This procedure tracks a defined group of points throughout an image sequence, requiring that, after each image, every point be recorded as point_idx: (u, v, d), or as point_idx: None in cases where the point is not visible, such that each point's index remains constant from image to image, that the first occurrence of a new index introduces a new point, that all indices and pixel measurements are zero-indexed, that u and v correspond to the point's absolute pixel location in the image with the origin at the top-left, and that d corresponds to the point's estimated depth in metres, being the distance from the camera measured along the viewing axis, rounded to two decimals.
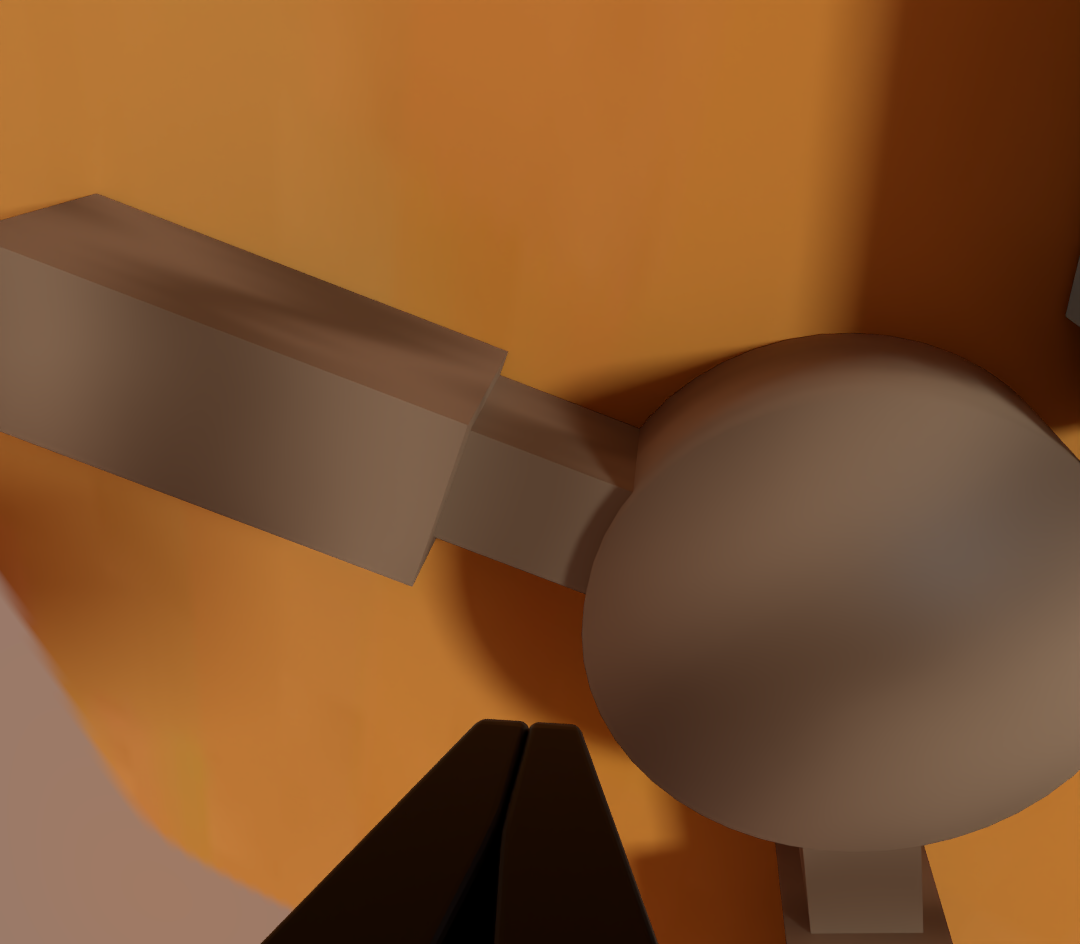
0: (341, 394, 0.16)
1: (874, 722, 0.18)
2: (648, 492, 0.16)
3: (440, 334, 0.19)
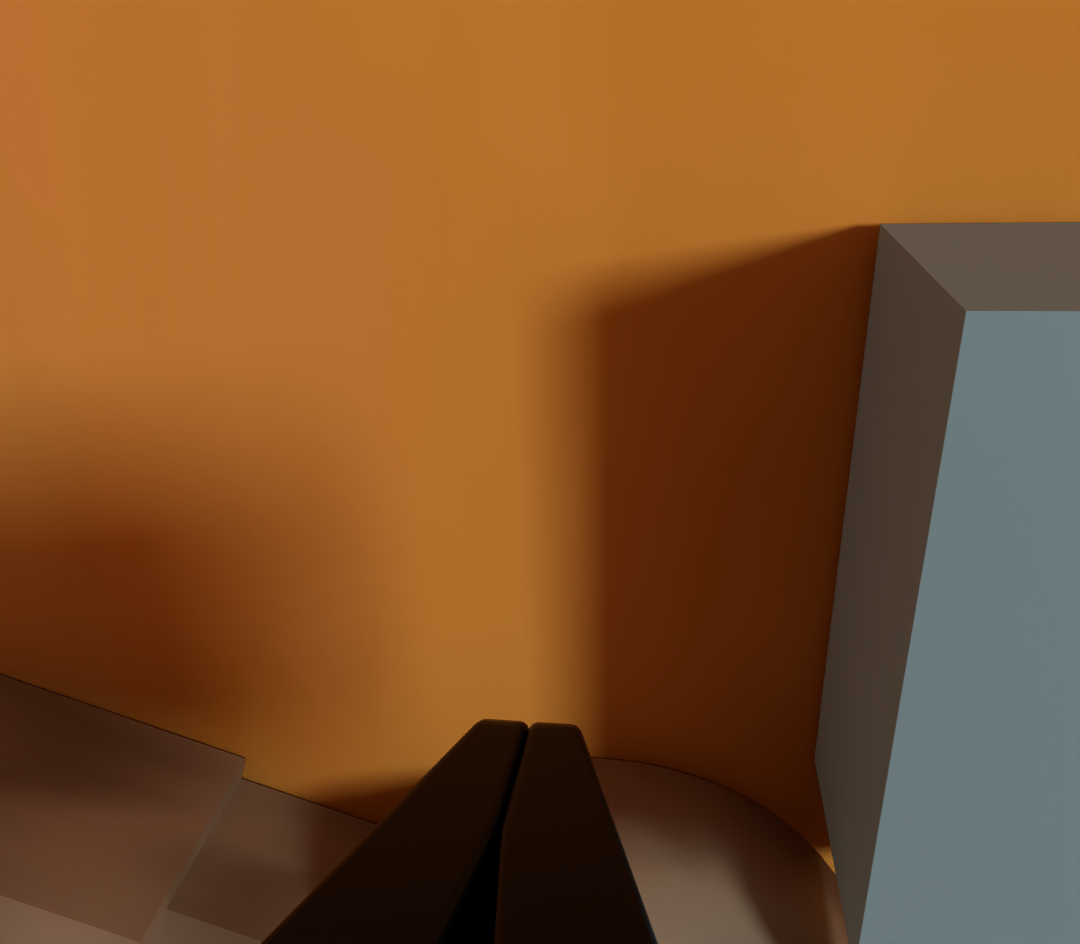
0: (2, 908, 0.14)
1: None
2: None
3: (165, 753, 0.17)
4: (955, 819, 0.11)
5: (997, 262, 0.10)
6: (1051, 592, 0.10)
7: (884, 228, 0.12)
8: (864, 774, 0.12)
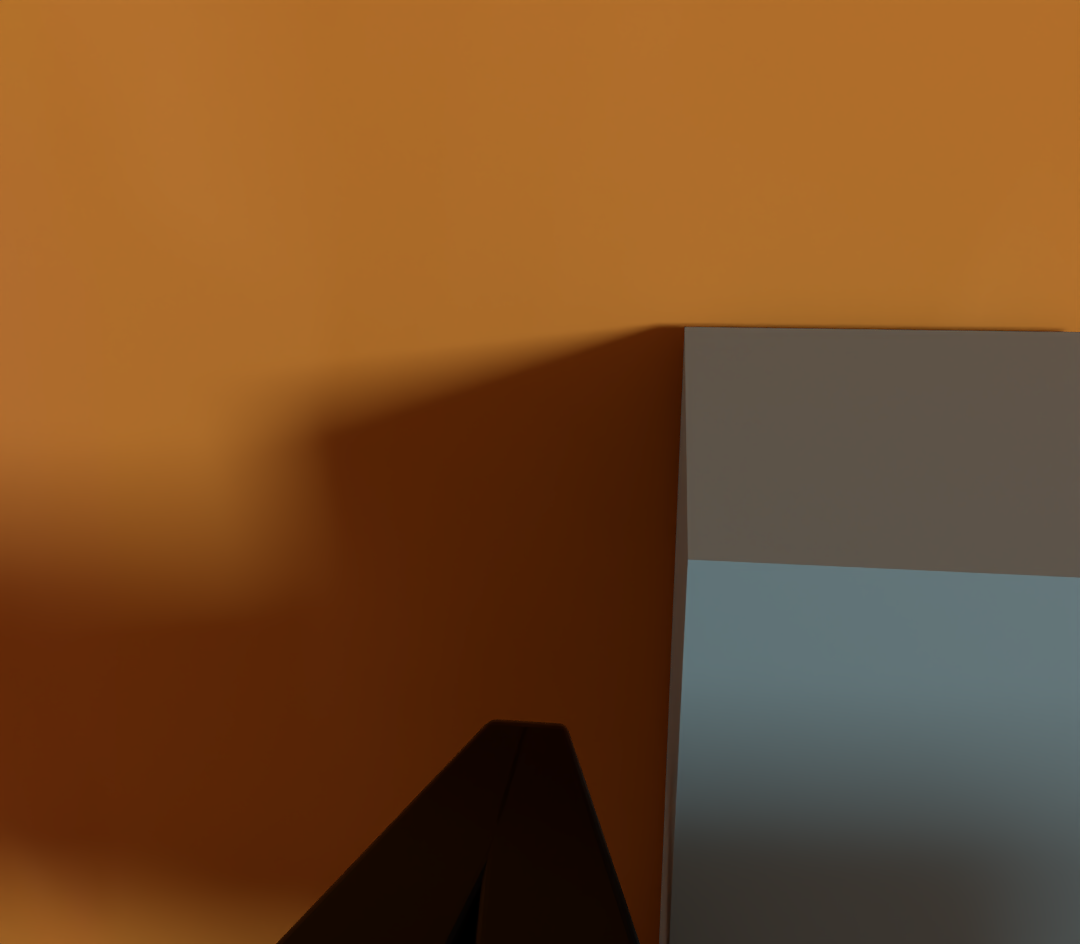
0: None
1: None
2: None
3: None
4: None
5: (807, 421, 0.06)
6: None
7: (685, 336, 0.08)
8: None
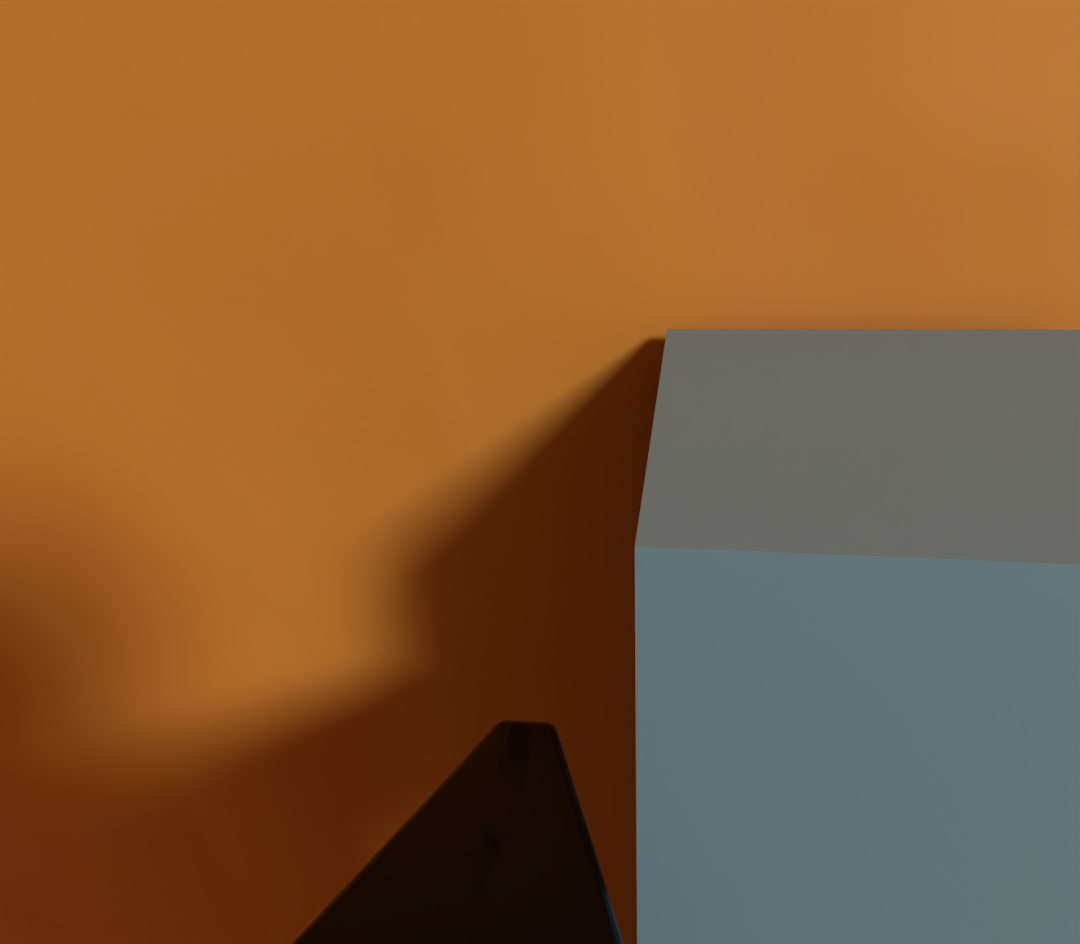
0: None
1: None
2: None
3: None
4: None
5: (771, 418, 0.06)
6: None
7: (666, 338, 0.08)
8: None
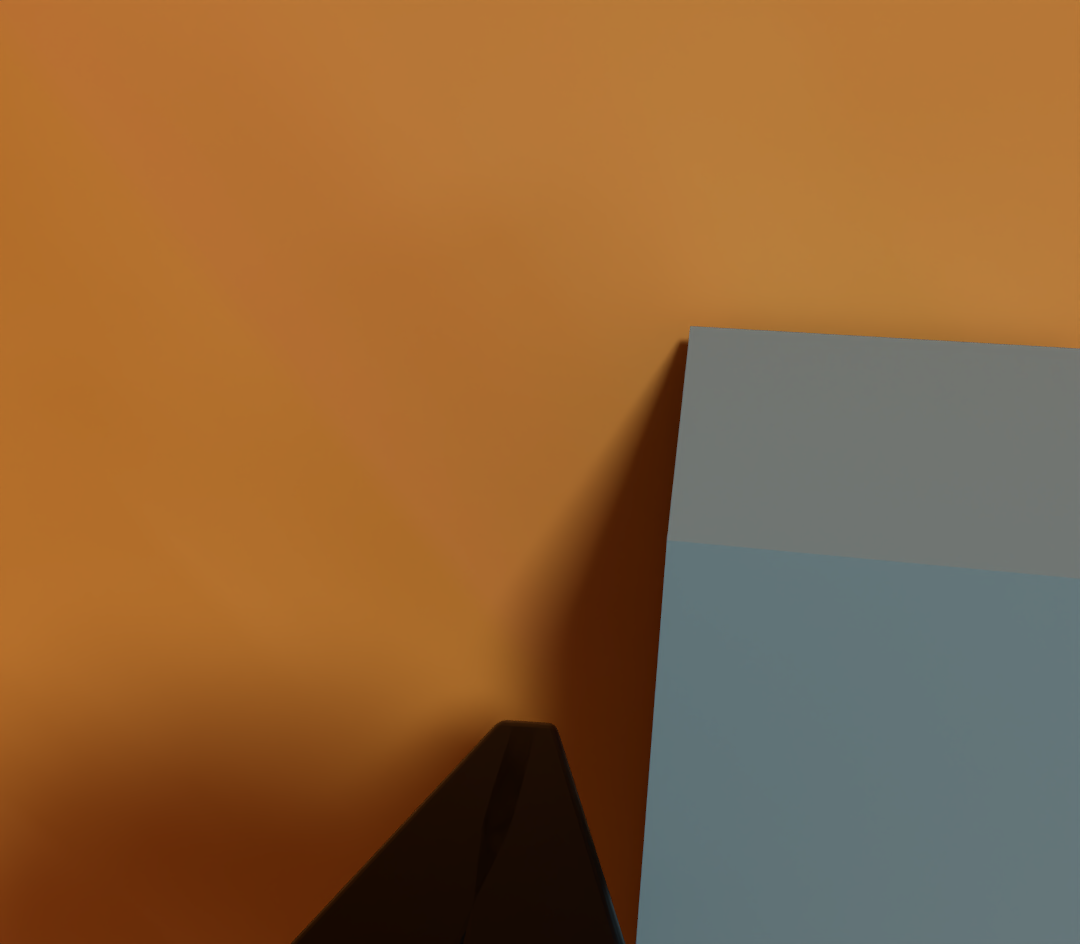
0: None
1: None
2: None
3: None
4: None
5: (797, 420, 0.07)
6: None
7: (689, 335, 0.08)
8: None
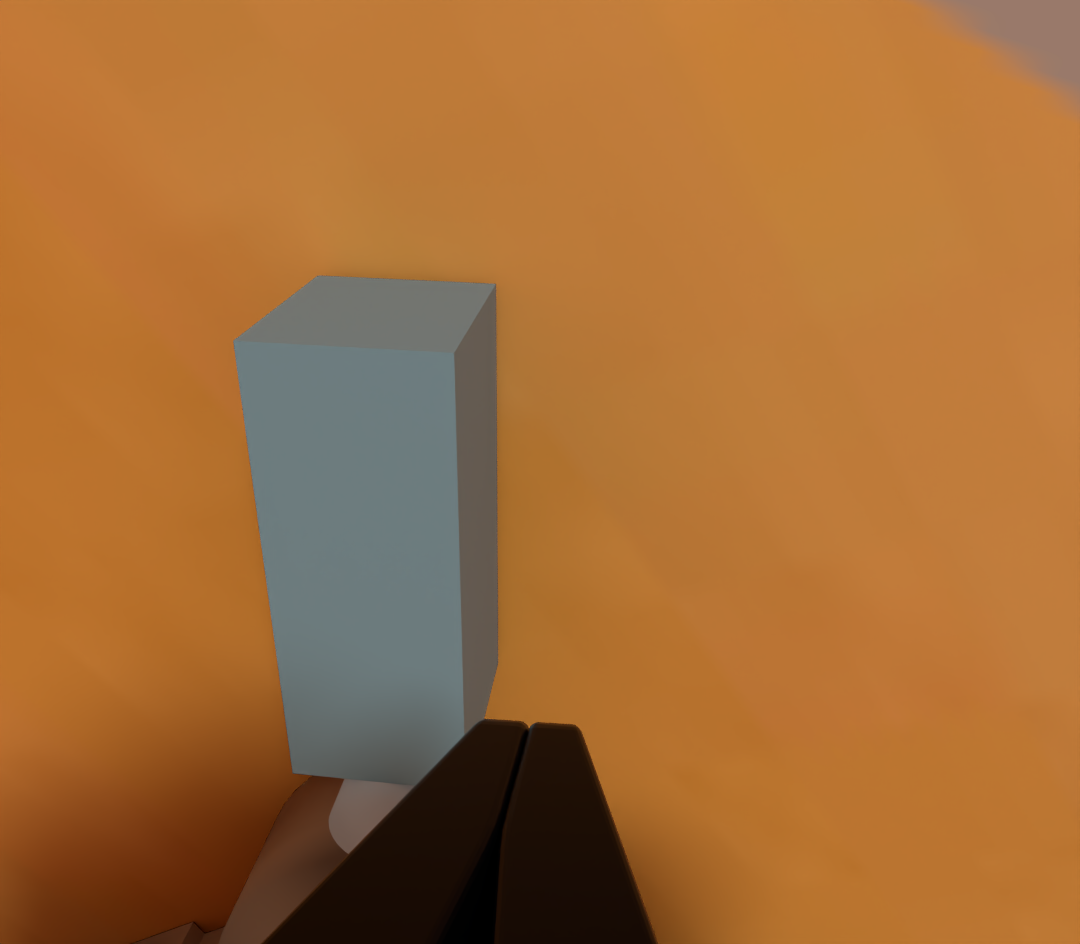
0: None
1: None
2: None
3: None
4: (321, 663, 0.17)
5: (322, 309, 0.16)
6: (329, 512, 0.16)
7: (313, 279, 0.18)
8: None
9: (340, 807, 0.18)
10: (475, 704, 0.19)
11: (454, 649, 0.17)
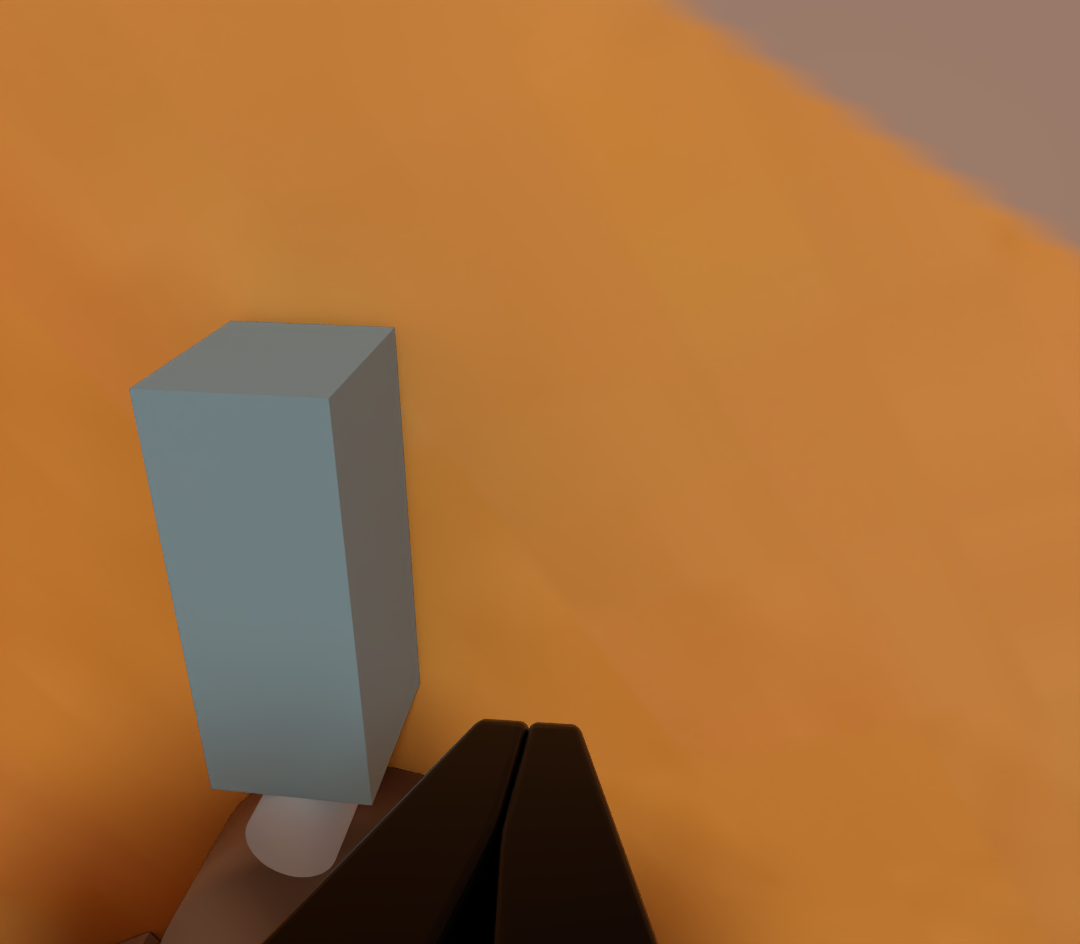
0: None
1: None
2: None
3: None
4: (230, 684, 0.18)
5: (222, 355, 0.17)
6: (227, 544, 0.17)
7: (225, 324, 0.19)
8: None
9: (255, 821, 0.19)
10: (383, 723, 0.20)
11: (350, 672, 0.18)
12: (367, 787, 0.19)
